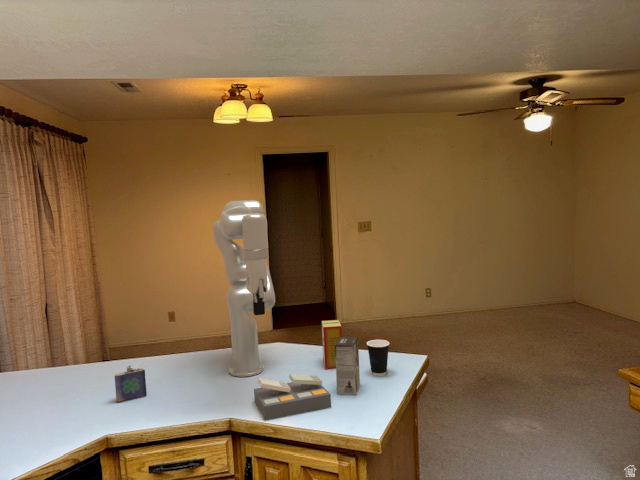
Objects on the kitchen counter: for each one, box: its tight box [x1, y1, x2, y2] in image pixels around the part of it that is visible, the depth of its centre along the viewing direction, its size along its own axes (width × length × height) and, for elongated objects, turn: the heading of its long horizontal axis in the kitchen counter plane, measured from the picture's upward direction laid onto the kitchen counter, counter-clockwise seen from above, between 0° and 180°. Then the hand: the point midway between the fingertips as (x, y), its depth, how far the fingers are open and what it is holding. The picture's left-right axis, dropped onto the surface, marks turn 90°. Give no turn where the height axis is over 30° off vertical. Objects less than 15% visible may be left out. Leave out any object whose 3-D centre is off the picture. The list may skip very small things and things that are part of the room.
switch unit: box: [253, 381, 332, 421], centre depth 142 cm, size 14×20×5 cm
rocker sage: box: [288, 373, 323, 386], centre depth 145 cm, size 5×9×1 cm, turn 110°
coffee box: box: [335, 336, 361, 396], centre depth 151 cm, size 9×6×16 cm
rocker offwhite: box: [257, 377, 291, 393], centre depth 141 cm, size 5×9×1 cm, turn 110°
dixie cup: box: [366, 339, 391, 377], centre depth 164 cm, size 8×8×11 cm
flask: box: [114, 365, 148, 403], centre depth 152 cm, size 9×3×11 cm, turn 121°
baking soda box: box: [321, 319, 343, 370], centre depth 175 cm, size 10×6×16 cm
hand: (259, 314), depth 145 cm, fingers closed
